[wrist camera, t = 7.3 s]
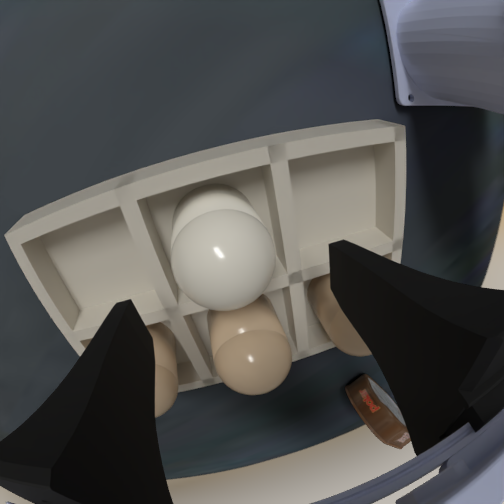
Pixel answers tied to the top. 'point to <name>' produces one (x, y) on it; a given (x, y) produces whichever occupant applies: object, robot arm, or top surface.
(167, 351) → the brown egg
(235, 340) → the brown egg middle
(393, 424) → the tin
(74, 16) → the top surface
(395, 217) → the egg carton
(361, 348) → the brown egg
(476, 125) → the top surface
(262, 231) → the cream egg
